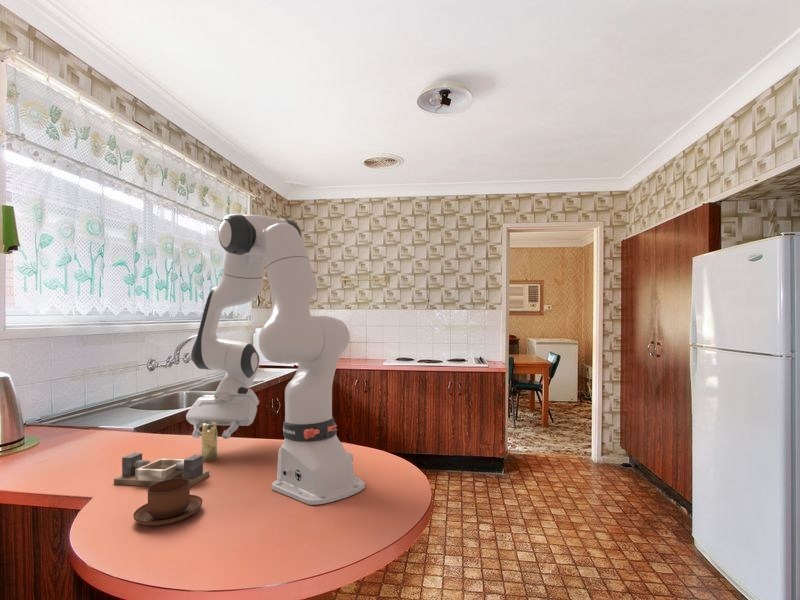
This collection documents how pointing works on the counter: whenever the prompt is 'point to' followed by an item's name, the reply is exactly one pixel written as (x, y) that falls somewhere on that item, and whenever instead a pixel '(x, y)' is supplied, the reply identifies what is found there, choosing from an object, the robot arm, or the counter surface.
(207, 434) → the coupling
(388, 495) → the counter surface
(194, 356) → the robot arm
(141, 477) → the shaft stand
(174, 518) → the cup and saucer
